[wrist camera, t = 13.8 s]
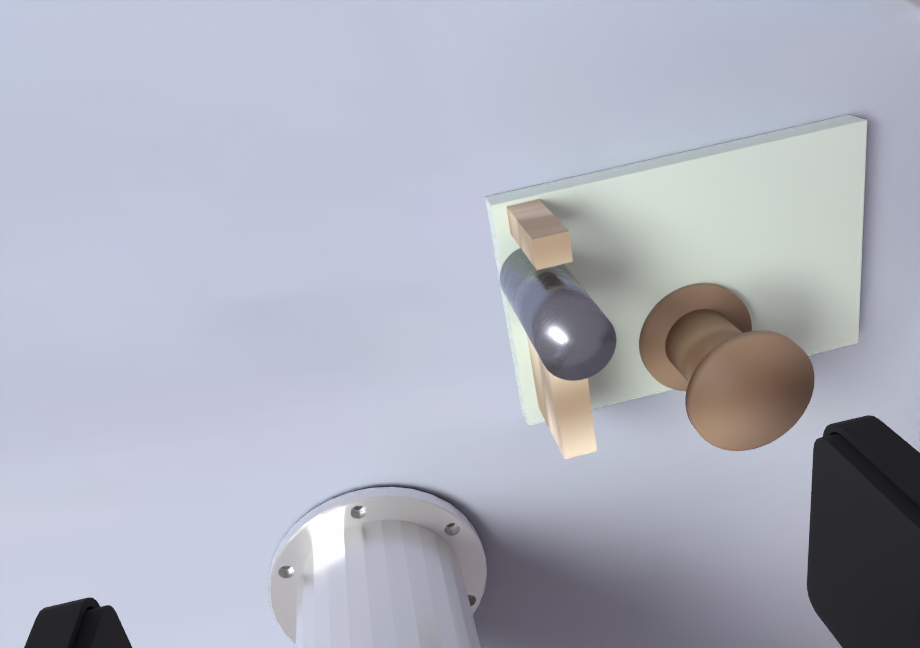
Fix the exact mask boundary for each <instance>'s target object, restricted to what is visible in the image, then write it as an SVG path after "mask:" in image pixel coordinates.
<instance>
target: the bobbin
mask: <svg viewBox="0 0 920 648" xmlns="http://www.w3.org/2000/svg"><path fill="white" fill-rule="evenodd" d="M639 351H640V356H641V359H642V362H643V364H644V366H645V367H646V369H647V370H648V371H649V373H650V374H651V375H652V376H653V377H654V378H655V379H656V380H657V381H658V382H659V383H661V384H662V385H664V386H666V387H668V388H671V389H674V390H680V391H686V411H687V414H688V418H689V420H690V422H691V424H692V425H693V426H694V428H695V429H696V430H697V432H698V433H699V434H700V435H701V436H702V437H703V438H704V439H705V440H706V441H707V442H709V443H710V444H712V445H714V446H716V447H718V448H721V449H724V450H730V451H744V450H751V449H755V448H758V447H761V446H764V445H766V444H769V443H771V442H772V441H774V440H776V439H778V438H779V437H781V436H782V435H783V434H785V433H786V432H787V431H788V430H790V429H791V428H792V427H793V426H794V425H795V424H796V422H797V421H798V420H799V419H800V417H801V416H802V415H803V413H804V411H805V410H806V408H807V406H808V404H809V402H810V399H811V396H812V393H813V388H814V371H813V366H812V363H811V361H810V359H809V357H808V355H807V354H806V353H805V351H804V350H803V349H802V348H801V347H799V346H798V345H797V344H796V343H794V342H793V341H792V340H791V339H789V338H788V337H786V336H784V335H782V334H779V333H777V332H772V331H763V330H759V331H752V323H751V318H750V314H749V312H748V309H747V308H746V306H745V304H744V303H743V302H742V301H741V300H740V299H739V298H738V297H737V296H736V295H734V294H733V293H732V292H731V291H729V290H728V289H726V288H724V287H722V286H719V285H716V284H711V283H696V284H690V285H687V286H684V287H681V288H679V289H676V290H675V291H673V292H671V293H669V294H668V295H667V296H665V297H664V298H662V299H661V300H660V301H659V302H658V303H657V304H656V305H655V306H654V308H653V309H652V310H651V311H650V313H649V314H648V316H647V318H646V319H645V321H644V324H643V326H642V329H641V333H640V338H639Z"/></svg>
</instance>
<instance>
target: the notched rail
mask: <svg viewBox="0 0 920 648" xmlns="http://www.w3.org/2000/svg"><path fill="white" fill-rule="evenodd" d="M506 208H507V215H508V221H509V227H510V233H511V235H512V237H513V238H514V239H515V241H516V242H517V243H518V245H519V246H520V248H521V249H522V250H523V252H524V253H525V255H526V256H527V257H528V259H529V260H530V261H531V263H532V264H533V266H534V267H535V268H536V270H540V269H544V268H548V267H553V266H557V265H561V264H565V263H570V262H573V258H572V251H571V243H570V235H569V231H568V229H567V228H566V227H565V226H564V225H563V224H562V223H561V222H560V221H559V220H558V219H557V218H556V217H555V216H554V215H553V214H552V212H551V211H550V210H549V209H548V208H547V207H546V206H545V205H544V204H543V203H542V202H541V201H540V200H539V199H536V200H532V201H527V202H523V203H519V204H514V205H510V206H506ZM527 339H528V346H529V352H530V358H531V364H532V370H533V377H534V383H535V389H536V395H537V402H538V407H539V409H540V411H541V413H542V415H543V417H544V419H545V421H546V423H547V425H548V427H549V429H550V431H551V433H552V435H553V437H554V439H555V441H556V443H557V445H558V447H559V449H560V451H561V453H562V454H563V456H564V458H565V459H568V458H572V457H576V456H580V455H583V454H587V453H591V452H595V451H597V447H596V440H595V432H594V424H593V416H592V408H591V400H590V392H589V384H588V378H586V379H583V380H577V381H569V380H563V379H560V378H558V377H556V376H554V375H553V374H551V373H550V372H549V371H548V370H547V369H546V368H545V366H544V364H543V362H542V361H541V359H540V357H539V355H538V353H537V352H536V350H535V348H534V346H533V344H532V343H531V341H530V339H529V337H528V335H527Z"/></svg>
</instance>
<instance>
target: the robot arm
mask: <svg viewBox="0 0 920 648" xmlns="http://www.w3.org/2000/svg"><path fill="white" fill-rule="evenodd" d="M486 580H487V564H486V557H485V553H484V550H483V546H482V543H481V540H480V538H479V536H478V534H477V532H476V530H475V528H474V526H473V525H472V524H471V523H470V522H469V520H468V519H467V518H466V517H465V515H464V514H463V513H461V512H460V511H459V510H458V509H456V508H455V507H454V506H452V505H451V504H450V503H448V502H446V501H444V500H442V499H440V498H438V497H436V496H434V495H432V494H428V493H425V492H421V491H418V490H415V489H408V488H399V487H378V488H367V489H363V490H358V491H353V492H349V493H346V494H344V495H341V496H338V497H336V498H333V499H330V500H328V501H326V502H325V503H323V504H321V505H320V506H318V507H316V508H314V509H313V510H311V511H310V512H308V513H307V514H306V515H305V516H304V517H302V518H301V519H300V520H299V521H298V522H296V523H295V524H294V525H293V527H292V528H291V529H290V530H289V532H288V533H287V534H286V535H285V536H284V538H283V539H282V541H281V543H280V545H279V547H278V549H277V550H276V552H275V554H274V557H273V561H272V565H271V569H270V577H269V599H270V607H271V609H272V612H273V615H274V617H275V620H276V622H277V623H278V625H279V626H280V628H281V629H282V631H283V632H284V634H285V635H286V636H287V637H288V638H289V639H290V640H291V641H292V642H294V643H295V644H296V648H481V646H480V642H479V638H478V634H477V630H476V626H475V622H474V618H473V614H474V613H475V611H476V610H477V608H478V606H479V604H480V602H481V599H482V597H483V594H484V591H485V587H486ZM807 591H808V595H809V598H810V601H811V604H812V606H813V608H814V610H815V612H816V613H817V615H818V616H819V617H820V619H821V620H822V621H823V623H824V624H825V625H826V626H827V628H828V629H829V630H830V632H831V633H832V634H833V636H834V637H835V638H836V640H837V641H838V642H839V644H840V645H841V646H842V647H843V648H920V453H919V452H918V451H917V450H916V449H914V448H913V447H912V446H911V445H910V444H908V443H907V442H906V441H905V440H903V439H902V438H901V437H900V436H899V435H897V434H896V433H895V432H894V431H893V430H891V429H890V428H889V427H888V426H887V425H885V424H884V423H883V422H882V421H881V420H879V419H878V418H876V417H874V416H869V415H868V416H863V417H859V418H855V419H850V420H846V421H842V422H838V423H833V424H830V425H828V426H827V427H826V428H825V430H824V434H823V437H822V438H819V439H817V440H816V441H815V443H814V450H813V470H812V491H811V512H810V532H809V553H808V574H807ZM24 648H132V646H131V644H130V642H129V640H128V637H127V635H126V633H125V631H124V629H123V627H122V624H121V622H120V620H119V618H118V616H117V613H116V612H115V610H114V608H113V607H111V606H110V605H107V606H102V607H100V605H99V604H98V602H97V601H96V600H95V599H93V598H85V599H80V600H76V601H72V602H68V603H63V604H59V605H55V606H50V607H46V608H44V609H42V610H41V611H40V612H39V614H38V616H37V618H36V620H35V622H34V625H33V627H32V630H31V632H30V635H29V637H28V640H27V642H26V645H25V647H24Z"/></svg>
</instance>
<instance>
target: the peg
mask: <svg viewBox="0 0 920 648" xmlns="http://www.w3.org/2000/svg"><path fill="white" fill-rule="evenodd" d="M500 285H501V288H502V290H503V292H504V294H505V296H506V298H507V299H508V301H509V303H510V305H511V307H512V308H513V310H514V312H515V314H516V316H517V317H518V319H519V321H520V323H521V325H522V326H523V328H524V330H525V332H526V334H527V335H528V337H529V339H530V341H531V343H532V344H533V346H534V348H535V350H536V352H537V353H538V355H539V357H540V359H541V361H542V362H543V364H544V366H545V368H546V369H547V370H548V371H549V372H550V373H551V374H553V375H554V376H556V377H558V378H560V379H563V380H569V381H577V380H583V379H586V378H589V377H591V376H593V375H595V374H597V373H598V372H600V371H601V370H602V369H603V368H604V367H605V366H606V365H607V364H608V363H609V361H610V360H611V358H612V356H613V354H614V351H615V348H616V332H615V329H614V327H613V325H612V323H611V322H610V321H609V319H608V318H607V317H606V316H605V314H604V313H603V312H602V311H601V309H600V308H599V307H598V306H597V304H596V303H595V302H594V301H593V299H592V298H591V297H590V296H589V294H588V293H587V292H586V291H585V289H584V288H583V287H582V286H581V284H580V283H579V282H578V281H577V279H576V278H575V277H574V276H573V274H572V273H571V272H570V271H569V269H568V268H567V267H566V266H565V264H561V265H557V266H553V267H548V268H544V269H540V270H536V268H535V267H534V266H533V264H532V263H531V261H530V260H529V259H528V257H527V256H526V255H525V253H524V252H523V250H522V249H521V248H519V249H517V250H515V251H514V252H513V253H511V254H510V255H509V256H508V258H507V259H506V260H505V262H504V263H503V266H502V268H501V271H500Z"/></svg>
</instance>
